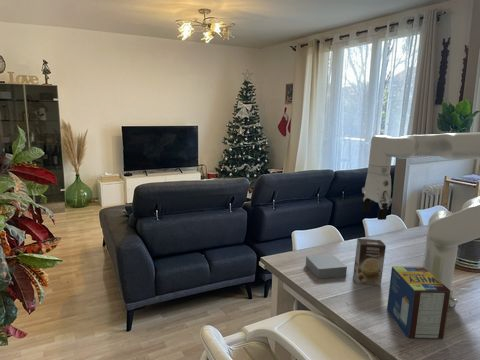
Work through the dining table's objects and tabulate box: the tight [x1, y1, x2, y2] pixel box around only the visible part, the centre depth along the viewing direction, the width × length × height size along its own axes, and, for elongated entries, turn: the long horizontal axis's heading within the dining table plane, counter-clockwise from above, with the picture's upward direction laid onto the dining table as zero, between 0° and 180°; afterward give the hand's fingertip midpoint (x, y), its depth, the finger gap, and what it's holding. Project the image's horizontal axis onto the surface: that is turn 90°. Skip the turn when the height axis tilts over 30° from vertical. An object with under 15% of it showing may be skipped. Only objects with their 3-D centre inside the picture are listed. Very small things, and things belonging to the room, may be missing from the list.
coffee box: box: [352, 237, 387, 287], centre depth 133 cm, size 9×6×16 cm
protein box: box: [386, 265, 450, 340], centre depth 107 cm, size 10×15×16 cm
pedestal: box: [305, 253, 348, 279], centre depth 142 cm, size 12×12×4 cm
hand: (373, 215), depth 129 cm, fingers open, 9 cm apart
